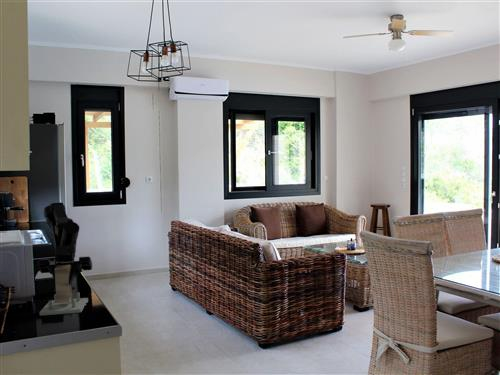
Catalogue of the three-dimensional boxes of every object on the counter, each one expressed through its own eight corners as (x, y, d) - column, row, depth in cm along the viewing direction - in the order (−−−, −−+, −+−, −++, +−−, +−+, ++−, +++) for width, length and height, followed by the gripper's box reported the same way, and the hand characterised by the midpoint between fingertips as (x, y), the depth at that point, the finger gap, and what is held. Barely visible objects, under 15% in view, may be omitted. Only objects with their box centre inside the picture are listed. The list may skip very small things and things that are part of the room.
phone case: (54, 280, 221) (57, 272, 236) (54, 277, 221) (57, 269, 236) (33, 282, 218) (37, 274, 234) (33, 279, 218) (37, 271, 234)
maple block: (59, 299, 178) (57, 265, 177) (72, 298, 179) (70, 264, 178) (56, 303, 174) (54, 268, 173) (69, 302, 174) (67, 267, 173)
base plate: (50, 303, 182) (49, 292, 182) (88, 300, 184) (87, 290, 184) (39, 315, 168) (38, 303, 168) (80, 312, 170) (80, 300, 170)
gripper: (37, 238, 177) (29, 274, 167) (89, 235, 180) (85, 271, 170) (44, 254, 186) (37, 290, 175) (93, 251, 188) (90, 286, 178)
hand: (62, 284), depth 174 cm, fingers closed on maple block, 4 cm apart
